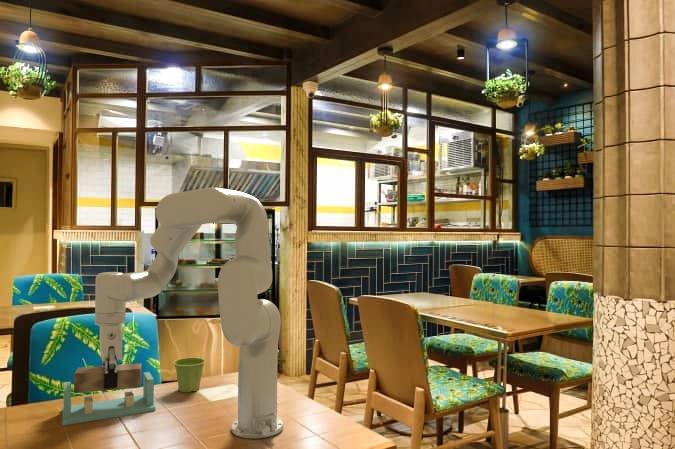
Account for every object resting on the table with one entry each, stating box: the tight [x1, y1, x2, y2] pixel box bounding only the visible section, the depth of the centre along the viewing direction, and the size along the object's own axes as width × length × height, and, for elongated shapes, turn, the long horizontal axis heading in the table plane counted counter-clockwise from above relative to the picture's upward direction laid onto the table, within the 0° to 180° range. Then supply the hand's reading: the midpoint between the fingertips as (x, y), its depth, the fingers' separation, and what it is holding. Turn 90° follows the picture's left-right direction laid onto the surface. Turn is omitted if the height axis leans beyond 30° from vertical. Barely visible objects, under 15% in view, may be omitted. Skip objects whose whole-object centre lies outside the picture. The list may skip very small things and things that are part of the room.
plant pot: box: [173, 357, 206, 393], centre depth 152 cm, size 9×9×9 cm
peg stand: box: [61, 371, 156, 426], centre depth 134 cm, size 22×12×8 cm, turn 119°
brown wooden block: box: [73, 362, 143, 394], centre depth 134 cm, size 16×6×5 cm, turn 108°
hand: (109, 383), depth 134 cm, fingers closed on brown wooden block, 6 cm apart
